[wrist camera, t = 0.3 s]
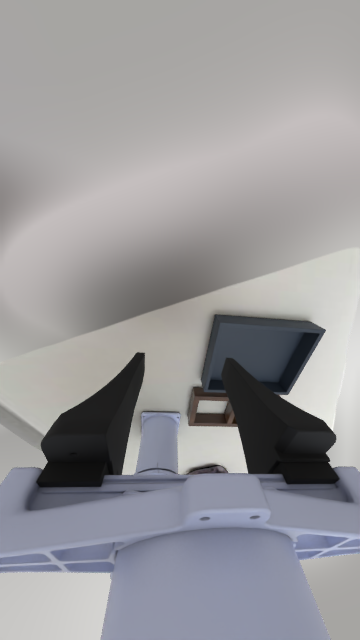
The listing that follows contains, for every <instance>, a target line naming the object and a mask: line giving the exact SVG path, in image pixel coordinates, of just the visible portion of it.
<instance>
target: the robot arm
mask: <svg viewBox="0 0 360 640" xmlns="http://www.w3.org/2000/svg"><path fill="white" fill-rule="evenodd" d="M144 371H145V353H139V352H137V353H136V354H135V356H134V357H133V358H132V359H131V361H130V362H129V363H128V364H127V365H126V366H125V368H124V369H123V370H122V371H121V372H120V373H119V374H118V375H117V376H116V377H115V378H114V379H113V380H112V381H110V382H109V383H108V384H107V385H106V386H104V387H103V388H102V389H101V390H99V391H98V392H97V393H95V394H94V395H92V396H91V397H89V398H88V399H86V400H85V401H83V402H82V403H80V404H79V405H77V406H75V407H73V408H72V409H70V410H68V411H66V412H64V413H63V414H61V415H60V416H59V418H58V419H57V420H56V421H55V422H54V424H53V425H52V427H51V428H50V430H49V431H48V432H47V434H46V435H45V437H44V438H43V440H42V442H41V448H42V451H43V453H44V455H45V457H46V459H47V461H48V463H47V464H46V466H45V468H44V469H43V470H42V469H40V468H35V467H28V468H13V469H11V471H10V472H9V473H8V475H7V476H6V477H5V479H4V480H3V482H2V483H1V485H0V573H7V572H78V573H80V572H83V573H111V574H110V577H111V580H112V581H111V586H110V592H109V597H108V602H107V608H106V614H105V618H104V624H103V629H102V635H101V640H331V639H330V636H329V634H328V631H327V629H326V626H325V624H324V621H323V619H322V616H321V614H320V611H319V609H318V606H317V604H316V601H315V599H314V596H313V594H312V591H311V589H310V586H309V584H308V582H307V579H306V576H305V574H304V571H303V569H302V567H301V564H300V562H299V560H306V559H314V558H322V557H330V556H339V555H348V554H359V553H360V472H359V471H358V470H357V469H356V468H355V467H335V468H332V467H331V466H330V464H329V463H328V462H330V459H329V457H328V456H327V455H326V452H327V451H328V450H329V449H330V448H331V446H333V445H334V443H335V442H336V435H335V434H334V432H333V431H332V430H331V429H330V428H329V427H328V426H327V424H326V423H325V422H324V421H323V420H321V419H319V418H317V417H315V416H313V415H311V414H309V413H307V412H305V411H303V410H301V409H300V408H298V407H296V406H294V405H292V404H291V403H289V402H287V401H286V400H284V399H283V398H281V397H279V396H278V395H276V394H275V393H274V392H272V391H271V390H269V389H268V388H267V387H265V386H264V385H263V384H261V383H260V382H259V381H258V380H257V379H255V378H254V377H253V376H252V375H251V374H250V373H249V372H247V371H246V370H245V369H244V368H243V367H242V366H241V365H240V364H239V363H238V362H237V361H236V360H235V359H233V358H226V359H225V363H224V366H223V370H222V373H221V377H222V381H223V385H224V388H225V391H226V393H227V396H228V399H229V401H230V404H231V407H232V409H233V412H234V415H235V418H236V422H237V426H238V429H239V433H240V437H241V441H242V445H243V450H244V454H245V459H246V464H247V469H248V474H247V473H211V474H197V475H180V474H178V452H177V434H178V428H179V421H180V413H164V412H142V414H141V422H142V437H141V443H140V449H139V455H138V461H137V467H136V473H135V474H134V475H122V470H123V464H124V458H125V453H126V448H127V442H128V437H129V432H130V427H131V422H132V417H133V413H134V409H135V405H136V402H137V399H138V396H139V392H140V389H141V386H142V382H143V377H144Z"/></svg>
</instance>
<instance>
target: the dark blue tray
mask: <svg viewBox="0 0 360 640" xmlns="http://www.w3.org/2000/svg"><path fill="white" fill-rule="evenodd" d="M325 331H326V330H325V329H323V328H321V327H319V326H317V325H316V324H314V323H312V322H308V321H294V320H281V319H268V318H254V317H241V316H228V315H215V318H214V322H213V327H212V332H211V336H210V341H209V346H208V350H207V355H206V360H205V364H204V369H203V373H202V378H201V381H202V386H203V391H204V392H217V393H226V391H225V388H224V385H223V381H222V377H221V373H222V370H223V366H224V363H225V359H226V358H233V359H235V360H236V361H237V362H238V363H239V364H240V365H241V366H242V367H243V368H244V369H245V370H246V371H247V372H249V373H250V374H251V375H252V376H253V377H254V378H255V379H257V380H258V381H259V382H260V383H261V384H263V385H264V386H265V387H267V388H268V389H269V390H271V391H272V392H274V393H275V394H276V395H288V394H289V392H290V391H291V389H292V387H293V386H294V384H295V382H296V381H297V379H298V377H299V375H300V374H301V372H302V370H303V369H304V367H305V365H306V363H307V362H308V360H309V358H310V357H311V355H312V353H313V352H314V350H315V348H316V346H317V345H318V343H319V341H320V340H321V338H322V336H323V334H324V333H325Z"/></svg>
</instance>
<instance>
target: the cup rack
mask: <svg viewBox="0 0 360 640" xmlns="http://www.w3.org/2000/svg"><path fill="white" fill-rule="evenodd" d="M278 396H279V395H278ZM279 397H280V396H279ZM199 400H210V401H229V399H228V396H227V393H217V392H204V391H203V388H199V387H193V391H192V397H191V402H190V407H189V412H188V425H189V426H225V427H238V426H237V422H236V418H235V415H234V412H233V409H232V407H231V404H230V401H229V402H228V405H227V407H226V410H225V413H224V414H197V413H196V412H197V407H198V403H199Z"/></svg>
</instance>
